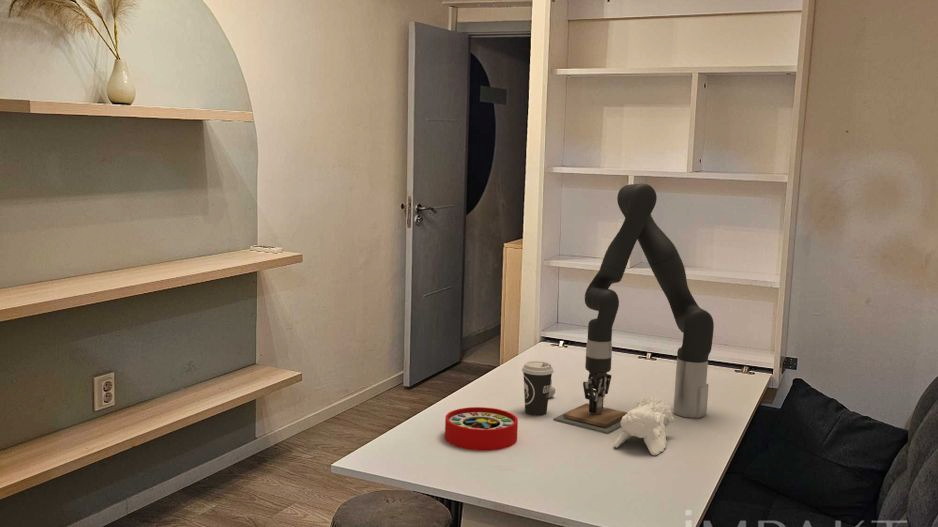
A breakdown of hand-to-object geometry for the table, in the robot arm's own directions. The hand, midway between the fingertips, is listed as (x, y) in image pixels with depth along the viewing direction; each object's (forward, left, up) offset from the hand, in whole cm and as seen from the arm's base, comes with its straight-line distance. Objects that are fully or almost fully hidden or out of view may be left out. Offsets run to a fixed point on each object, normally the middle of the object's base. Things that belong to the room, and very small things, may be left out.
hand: (595, 410), depth 258 cm
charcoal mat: (0, 0, -3) cm, 3 cm away
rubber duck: (+23, -10, -3) cm, 25 cm away
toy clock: (+16, +36, -3) cm, 39 cm away
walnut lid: (0, 0, -2) cm, 2 cm away
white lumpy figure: (-20, +9, -3) cm, 22 cm away
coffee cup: (+17, +6, -3) cm, 18 cm away
